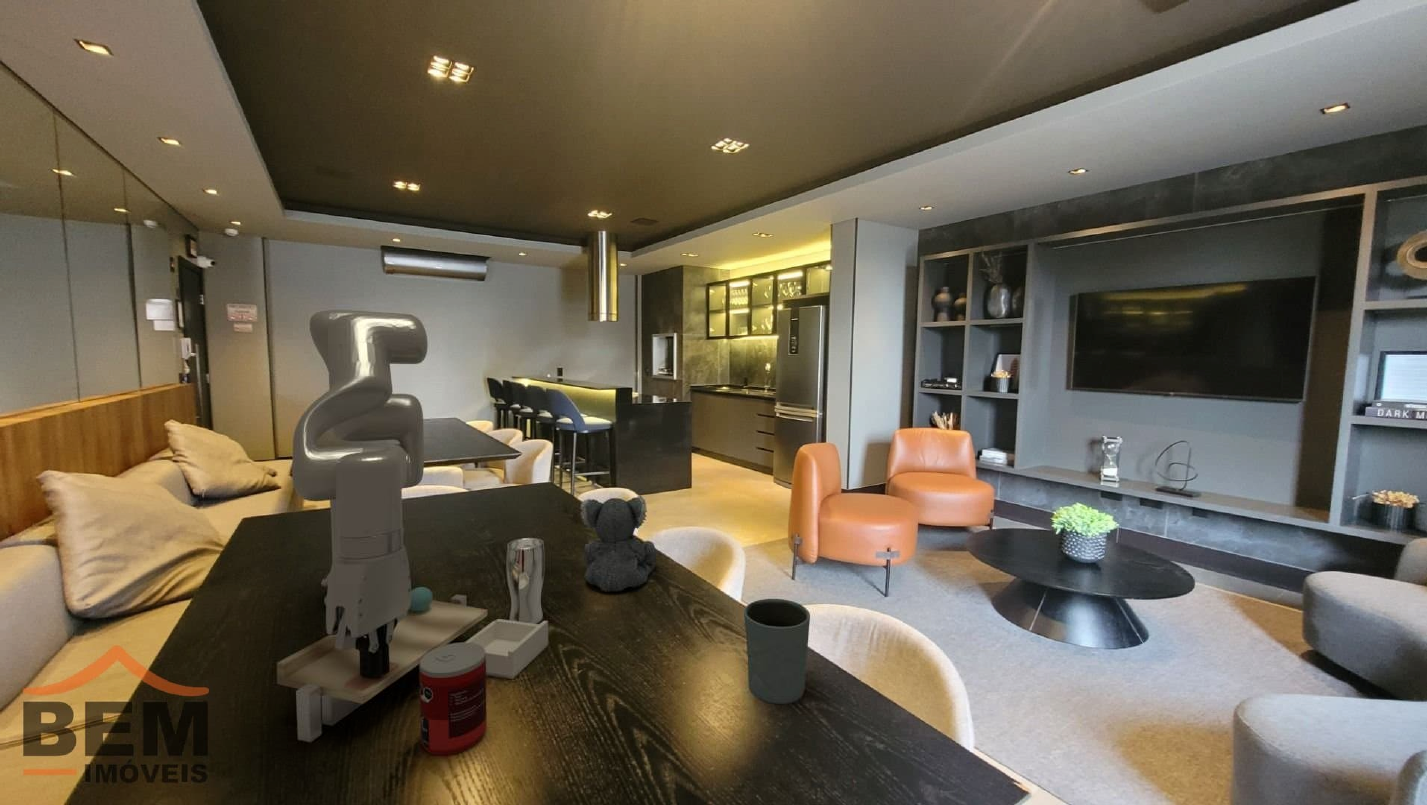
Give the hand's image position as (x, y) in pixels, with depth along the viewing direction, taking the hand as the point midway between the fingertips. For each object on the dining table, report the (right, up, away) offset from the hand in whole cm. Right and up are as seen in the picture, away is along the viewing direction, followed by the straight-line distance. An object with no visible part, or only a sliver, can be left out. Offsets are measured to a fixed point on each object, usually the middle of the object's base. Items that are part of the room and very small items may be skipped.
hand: (375, 674), depth 75 cm
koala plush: (+24, -3, +50) cm, 56 cm away
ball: (-4, +3, +19) cm, 20 cm away
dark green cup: (+56, -7, +9) cm, 57 cm away
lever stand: (-3, -6, +11) cm, 12 cm away
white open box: (+11, -5, +17) cm, 21 cm away
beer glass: (+11, -5, +30) cm, 32 cm away
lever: (-3, -1, +10) cm, 11 cm away
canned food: (+12, -7, -3) cm, 14 cm away
